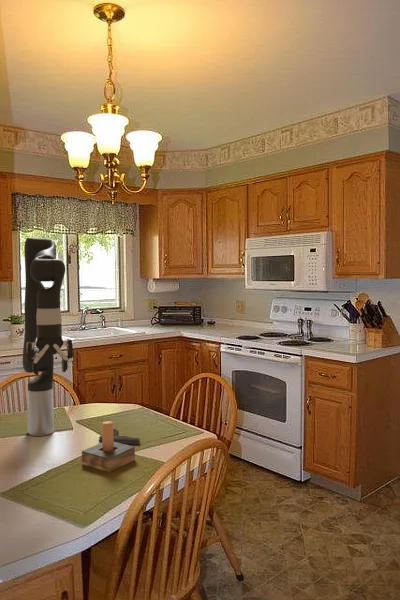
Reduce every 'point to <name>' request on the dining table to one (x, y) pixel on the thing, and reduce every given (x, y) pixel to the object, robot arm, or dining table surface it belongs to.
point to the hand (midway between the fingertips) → (50, 373)
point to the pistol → (123, 439)
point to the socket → (108, 457)
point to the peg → (107, 436)
